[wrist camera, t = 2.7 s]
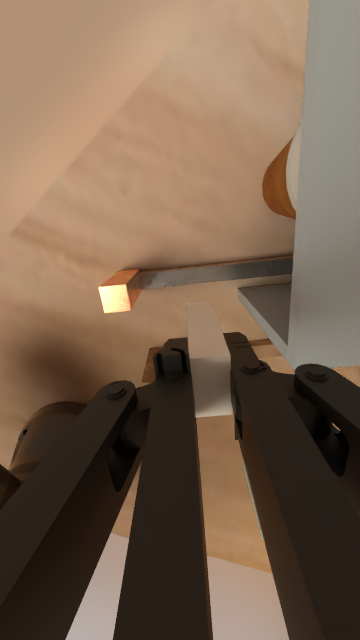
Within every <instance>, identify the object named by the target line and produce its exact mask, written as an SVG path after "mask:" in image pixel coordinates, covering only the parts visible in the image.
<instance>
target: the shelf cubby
mask: <svg viewBox="0 0 360 640" xmlns="http://www.w3.org/2000/svg"><path fill="white" fill-rule="evenodd" d="M238 298H239V300H240V301H241V302H242V304H243V305H244V306H245V307H246V309H247V310H248V311H249V313H250V314H251V315H252V317H253V318H254V319H255V321H256V322H257V323H258V324H259V326H260V327H261V328H262V330H263V331H264V332H265V334H266V335H267V336H268V338H269V339H270V340H271V341H272V343H273V344H274V345H275V347H276V348H277V349H278V351H279V352H280V353H281V355H282V356H283V357H284V358H285V360H286V361H287V362H288V364H289V365H290V366H291V368H292V369H293V370H294V371H295V369H296V368H297V367H298V366H300V365H302V364H319V365H323V366H326V367H328V368H336V367H348V366H359V365H360V0H310V2H309V18H308V34H307V50H306V65H305V81H304V97H303V113H302V129H301V144H300V160H299V176H298V192H297V208H296V224H295V239H294V255H293V271H292V283H286V284H276V285H266V286H256V287H246V288H238Z"/></svg>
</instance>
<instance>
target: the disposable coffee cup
mask: <svg viewBox="0 0 360 640" xmlns="http://www.w3.org/2000/svg"><path fill="white" fill-rule="evenodd" d="M301 129H302V122H301V123H300V125H299V126H298V128H297V131H296V133H295V135H294V137H293V138H292V139H291V140H290V141H289V143H288V144H287V145H286V146H285V148H283V150H282V151H281V152H280V153H279V155H278V156H277V157H276V158H275V159H274V160H273V161H272V163H271V164H270V166H269V167H268V169H267V171H266V173H265V176H264V179H263V184H262V189H263V197H264V200H265V202H266V204H267V205H268V206H269V208H270V209H271V210H272V211H274V212H275V213H277V214H280V215H284V216H287V217H290V218H294V219H296V208H297V192H298V176H299V160H300V144H301Z"/></svg>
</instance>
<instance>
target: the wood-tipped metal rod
mask: <svg viewBox="0 0 360 640" xmlns="http://www.w3.org/2000/svg"><path fill="white" fill-rule="evenodd" d="M292 271H293V256H284V257H274V258H265V259H255V260H246V261H236V262H227V263H217V264H208V265H198V266H189V267H180V268H170V269H161V270H151V271H142V272H140V270H139V269H133V270H123V271H118V272H117V273H116V274H115V275H113V276H112V277H111V278H110V279H108V280H107V281H106V282H105V283H103V284H102V285H101V286H100V287H99V291H100V295H101V299H102V304H103V308H104V312H105V313H109V312H119V311H129V310H131V309H132V307H133V305H134V304H135V302H136V300H137V298H138V296H139V294H140V293H141V291H142V289H148V288H157V287H167V286H177V285H186V284H196V283H206V282H216V281H225V280H235V279H245V278H254V277H264V276H274V275H284V274H292Z"/></svg>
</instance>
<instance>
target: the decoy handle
mask: <svg viewBox="0 0 360 640" xmlns="http://www.w3.org/2000/svg"><path fill="white" fill-rule="evenodd" d="M249 343H250V345H251V347H252V348H253V350H254V352H255V354H256V356H257V358H261V357H272V356H282V355H281V353H280V352H279V351H278V349H277V348H276V347H275V345H274V344H273V343H272V341H271V340H270V339H268V340H257V341H249ZM163 348H164V347H158V348H150V349H149V354H148V358H147V362H146V366H145V370H144V375H143V379H142V383H141V384H142V386H145V385H147V384H150V383H151V382H153V381H154V380H155V377H156V375H155V369H154V363H153V358H152V357H153V355H154V353H156V352H157V351H158V350H161V349H163Z"/></svg>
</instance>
